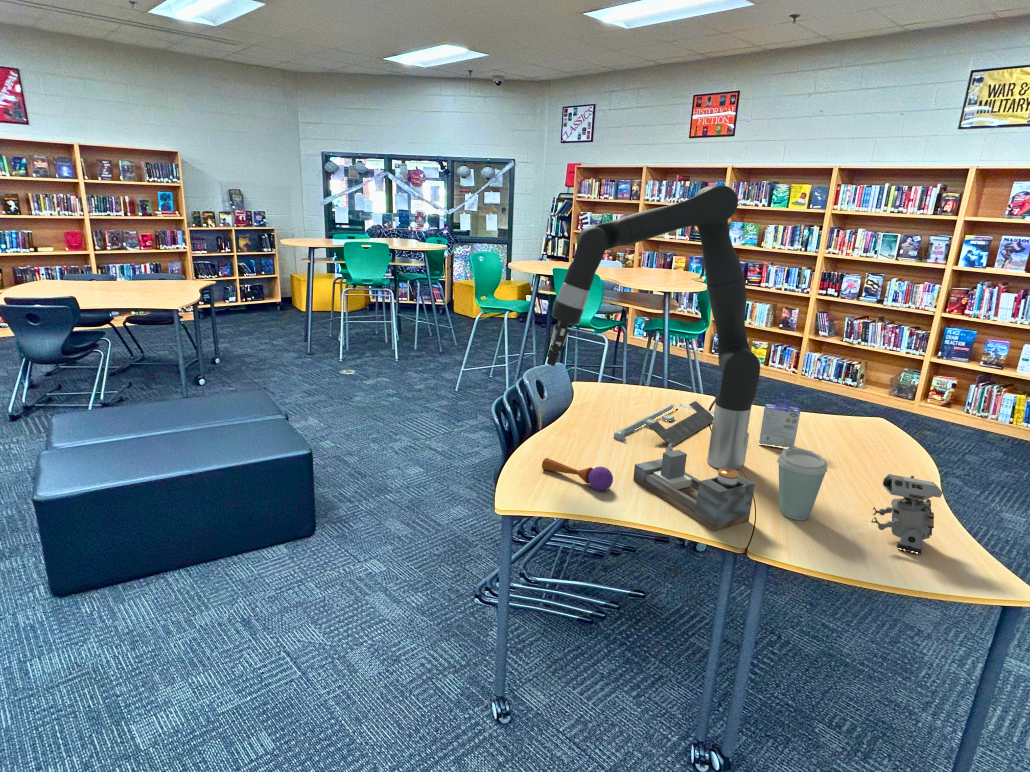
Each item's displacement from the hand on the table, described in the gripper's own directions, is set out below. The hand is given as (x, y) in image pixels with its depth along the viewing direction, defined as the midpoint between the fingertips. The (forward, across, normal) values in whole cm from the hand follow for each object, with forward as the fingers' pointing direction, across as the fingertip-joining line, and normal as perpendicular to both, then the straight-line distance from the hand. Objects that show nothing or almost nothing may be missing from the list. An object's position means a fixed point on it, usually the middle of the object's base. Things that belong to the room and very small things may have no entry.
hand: (550, 361), depth 163 cm
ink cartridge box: (+7, +21, -75) cm, 78 cm away
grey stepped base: (+18, -19, -41) cm, 49 cm away
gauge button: (+9, -29, -45) cm, 54 cm away
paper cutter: (+15, +32, -47) cm, 59 cm away
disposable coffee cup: (+12, -24, -64) cm, 70 cm away
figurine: (+8, -33, -83) cm, 89 cm away
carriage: (+17, -14, -38) cm, 44 cm away
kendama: (+25, -12, -16) cm, 32 cm away
